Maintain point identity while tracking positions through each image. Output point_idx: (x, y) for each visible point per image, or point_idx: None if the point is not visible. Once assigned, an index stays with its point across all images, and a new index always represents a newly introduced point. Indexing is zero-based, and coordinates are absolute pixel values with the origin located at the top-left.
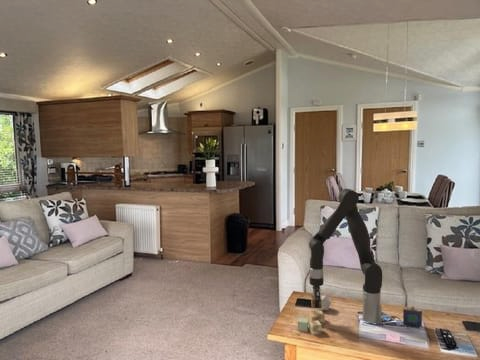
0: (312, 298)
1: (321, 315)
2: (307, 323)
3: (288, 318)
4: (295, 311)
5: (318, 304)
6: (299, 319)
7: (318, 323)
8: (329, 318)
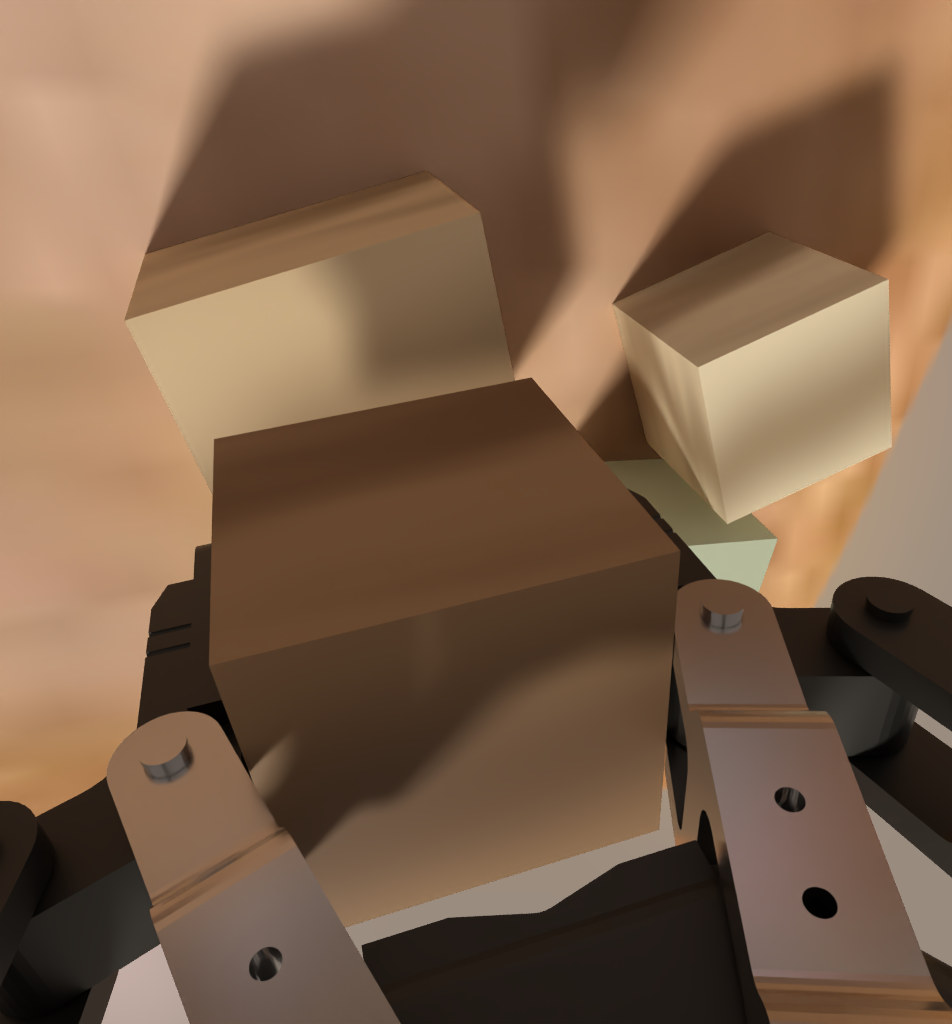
0: (580, 842)
1: (442, 302)
2: (745, 526)
3: None
4: (6, 748)
5: (682, 542)
6: None
7: (824, 344)
8: (38, 35)
